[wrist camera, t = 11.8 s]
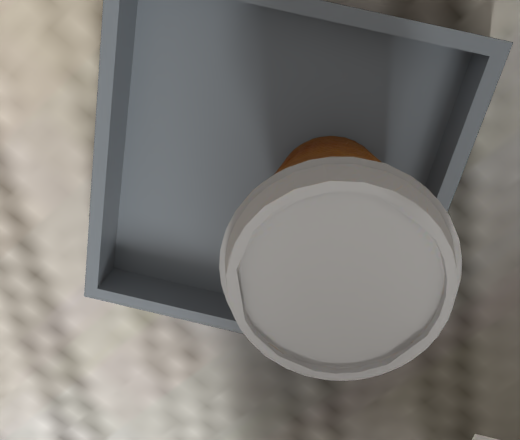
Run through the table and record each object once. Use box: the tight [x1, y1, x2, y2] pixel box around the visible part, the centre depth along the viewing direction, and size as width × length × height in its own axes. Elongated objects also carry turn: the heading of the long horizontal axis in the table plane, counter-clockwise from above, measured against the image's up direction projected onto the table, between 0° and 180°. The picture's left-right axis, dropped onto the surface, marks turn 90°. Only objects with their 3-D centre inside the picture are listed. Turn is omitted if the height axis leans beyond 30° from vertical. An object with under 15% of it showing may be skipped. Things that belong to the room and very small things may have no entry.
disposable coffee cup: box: [219, 136, 462, 381], centre depth 24 cm, size 10×10×12 cm
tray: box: [84, 0, 513, 334], centre depth 29 cm, size 20×20×4 cm
